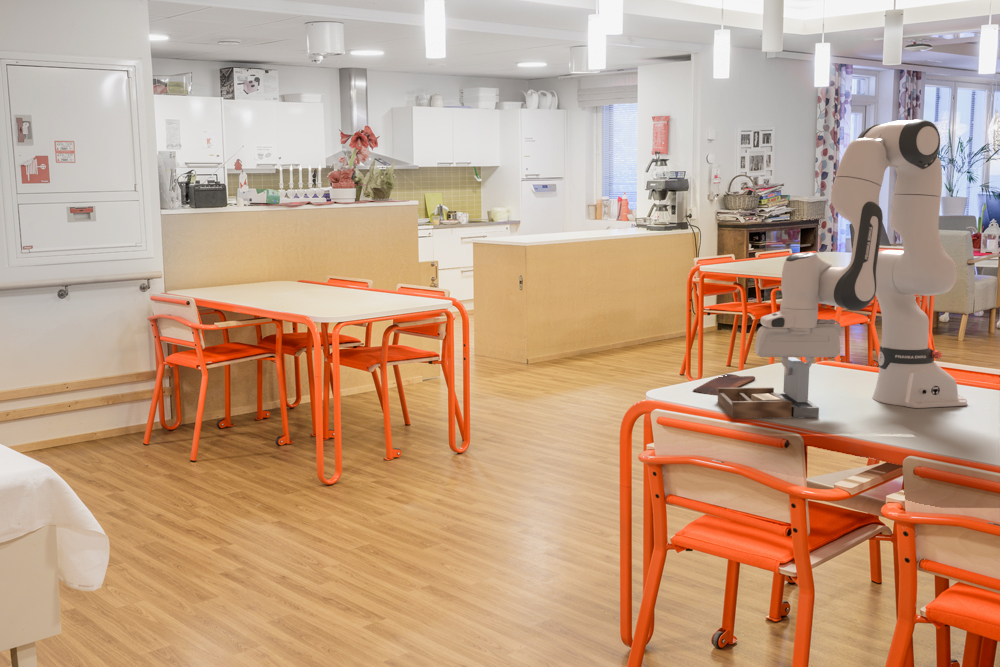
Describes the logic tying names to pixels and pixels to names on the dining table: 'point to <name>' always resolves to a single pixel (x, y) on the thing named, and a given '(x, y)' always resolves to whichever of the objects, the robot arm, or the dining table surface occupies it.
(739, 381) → the wooden tablet
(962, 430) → the dining table surface
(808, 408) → the stand
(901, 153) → the robot arm
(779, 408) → the divided tray
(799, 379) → the gray rectangular panel
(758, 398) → the offcut short
